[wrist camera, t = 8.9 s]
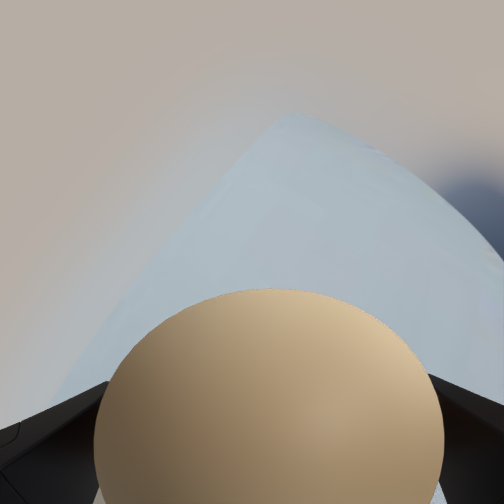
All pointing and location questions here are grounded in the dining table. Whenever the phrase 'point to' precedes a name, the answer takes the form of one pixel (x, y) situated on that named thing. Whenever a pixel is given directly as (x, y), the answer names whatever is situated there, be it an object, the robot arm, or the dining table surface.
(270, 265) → the dining table surface
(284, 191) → the dining table surface
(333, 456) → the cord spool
